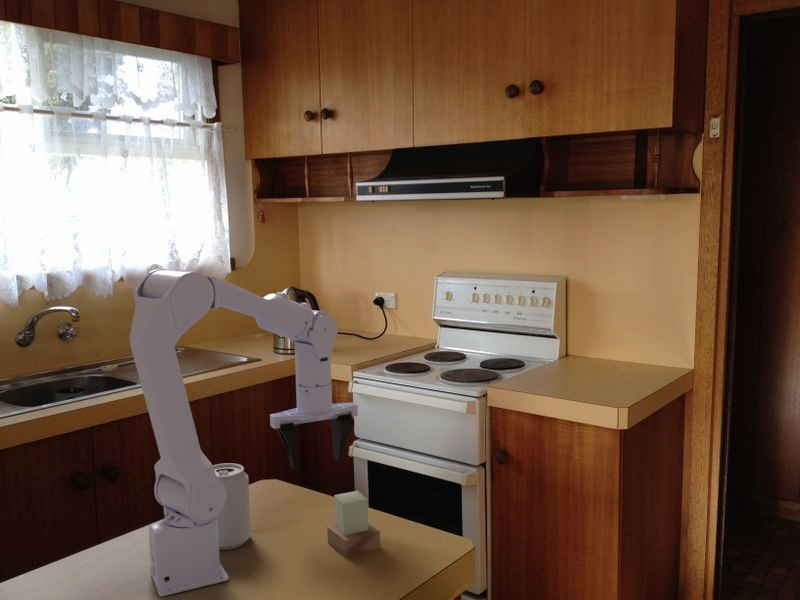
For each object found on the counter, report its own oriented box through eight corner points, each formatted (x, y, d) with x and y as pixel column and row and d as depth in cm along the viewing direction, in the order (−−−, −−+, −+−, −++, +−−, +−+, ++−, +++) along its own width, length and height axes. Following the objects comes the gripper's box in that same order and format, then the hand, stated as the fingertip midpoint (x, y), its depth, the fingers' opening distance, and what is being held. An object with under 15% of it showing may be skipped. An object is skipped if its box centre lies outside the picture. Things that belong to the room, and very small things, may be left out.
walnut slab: (346, 559, 112) (345, 540, 112) (328, 545, 117) (327, 526, 117) (380, 549, 116) (379, 531, 115) (361, 535, 121) (360, 517, 120)
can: (254, 530, 122) (251, 459, 121) (246, 551, 115) (243, 476, 114) (208, 532, 122) (205, 461, 121) (197, 553, 115) (193, 477, 113)
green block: (343, 535, 114) (342, 503, 113) (335, 525, 118) (334, 495, 117) (368, 530, 116) (367, 499, 115) (358, 520, 119) (358, 490, 119)
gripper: (278, 394, 115) (281, 479, 116) (364, 382, 121) (366, 463, 123) (264, 384, 121) (268, 465, 123) (347, 374, 127) (349, 451, 129)
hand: (316, 463), depth 123 cm, fingers open, 7 cm apart
